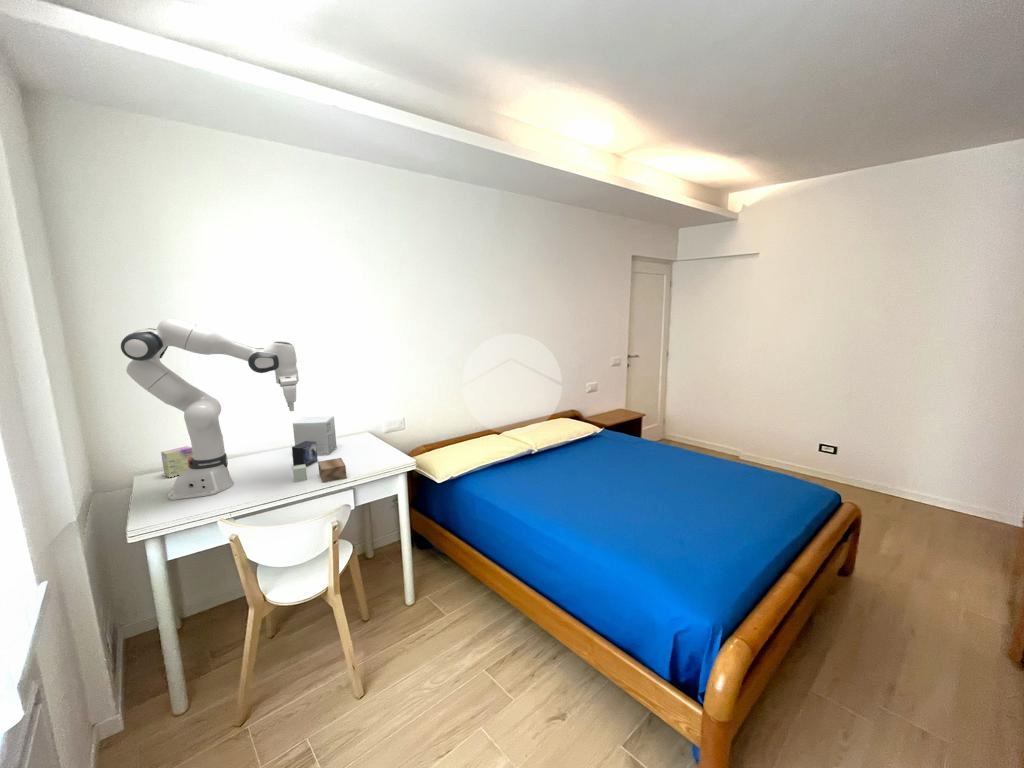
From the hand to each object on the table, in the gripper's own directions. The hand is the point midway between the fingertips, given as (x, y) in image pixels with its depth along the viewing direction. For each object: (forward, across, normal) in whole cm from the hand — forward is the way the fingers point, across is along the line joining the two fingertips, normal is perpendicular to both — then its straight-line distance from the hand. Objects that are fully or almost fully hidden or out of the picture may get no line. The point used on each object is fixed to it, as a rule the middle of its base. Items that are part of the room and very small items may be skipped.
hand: (290, 408), depth 189 cm
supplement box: (+32, -34, +12) cm, 48 cm away
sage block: (+32, +4, 0) cm, 32 cm away
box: (+31, -34, -47) cm, 66 cm away
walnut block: (+32, +8, +13) cm, 36 cm away
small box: (+32, -16, +4) cm, 36 cm away
